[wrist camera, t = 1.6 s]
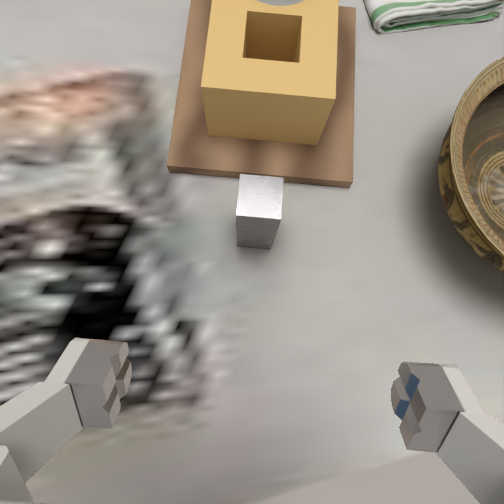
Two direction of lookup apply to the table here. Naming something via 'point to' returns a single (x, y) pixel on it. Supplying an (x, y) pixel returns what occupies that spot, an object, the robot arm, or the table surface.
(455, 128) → the ceramic bowl
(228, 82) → the square hole block
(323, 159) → the base board
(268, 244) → the square peg
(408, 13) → the dish towel
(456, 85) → the table surface
